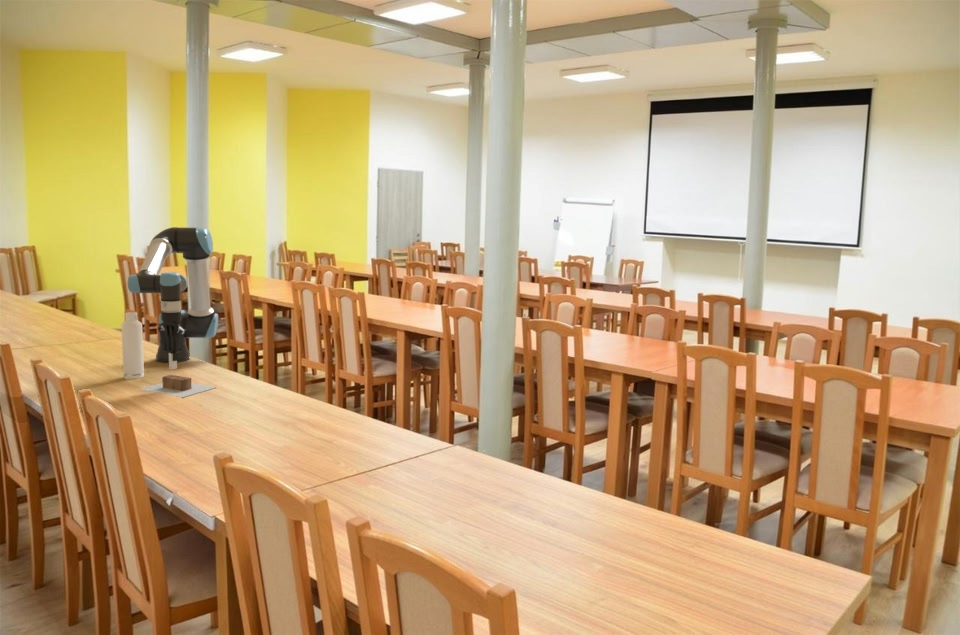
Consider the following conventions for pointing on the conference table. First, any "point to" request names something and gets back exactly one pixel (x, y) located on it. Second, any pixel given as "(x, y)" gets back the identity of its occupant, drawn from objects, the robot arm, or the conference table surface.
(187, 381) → the walnut block
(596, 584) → the conference table surface
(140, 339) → the bottle
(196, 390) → the felt mat
